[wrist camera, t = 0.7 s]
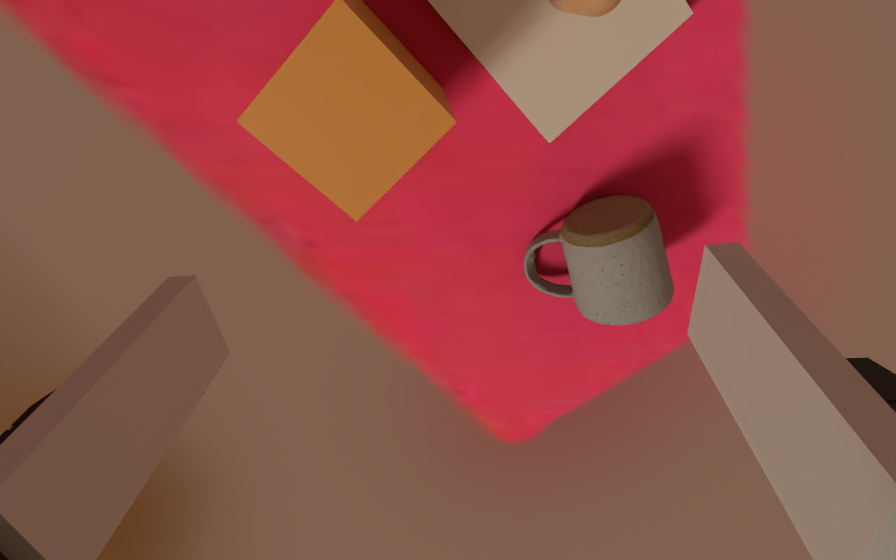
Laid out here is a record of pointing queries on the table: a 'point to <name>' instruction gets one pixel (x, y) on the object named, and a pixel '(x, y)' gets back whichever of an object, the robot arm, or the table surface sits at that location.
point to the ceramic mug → (610, 261)
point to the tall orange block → (350, 108)
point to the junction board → (560, 48)
